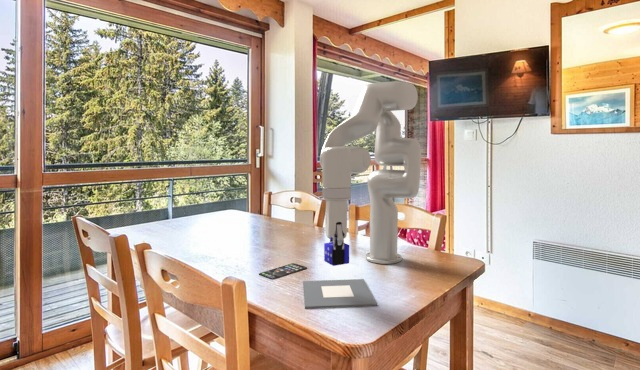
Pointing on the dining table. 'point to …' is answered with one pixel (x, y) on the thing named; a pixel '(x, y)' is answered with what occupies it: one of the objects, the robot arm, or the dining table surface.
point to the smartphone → (282, 271)
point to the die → (328, 253)
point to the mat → (337, 293)
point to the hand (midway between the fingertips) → (336, 259)
